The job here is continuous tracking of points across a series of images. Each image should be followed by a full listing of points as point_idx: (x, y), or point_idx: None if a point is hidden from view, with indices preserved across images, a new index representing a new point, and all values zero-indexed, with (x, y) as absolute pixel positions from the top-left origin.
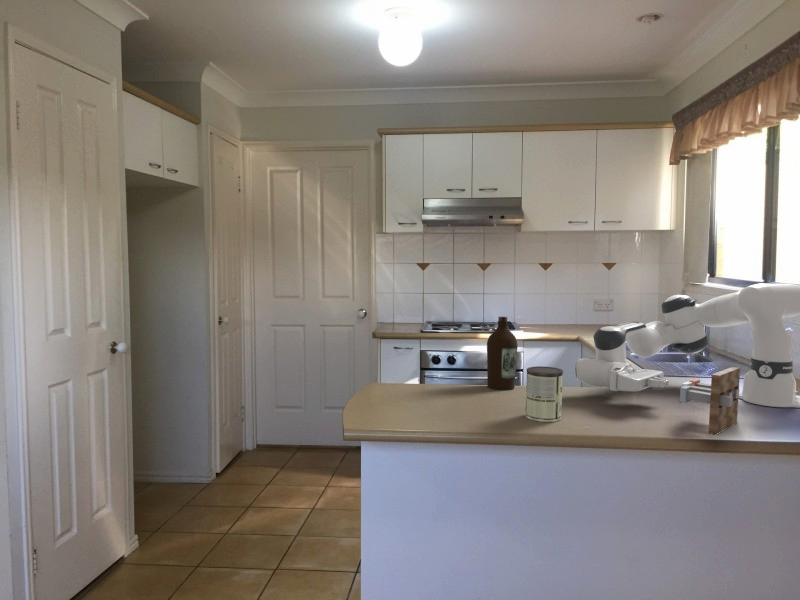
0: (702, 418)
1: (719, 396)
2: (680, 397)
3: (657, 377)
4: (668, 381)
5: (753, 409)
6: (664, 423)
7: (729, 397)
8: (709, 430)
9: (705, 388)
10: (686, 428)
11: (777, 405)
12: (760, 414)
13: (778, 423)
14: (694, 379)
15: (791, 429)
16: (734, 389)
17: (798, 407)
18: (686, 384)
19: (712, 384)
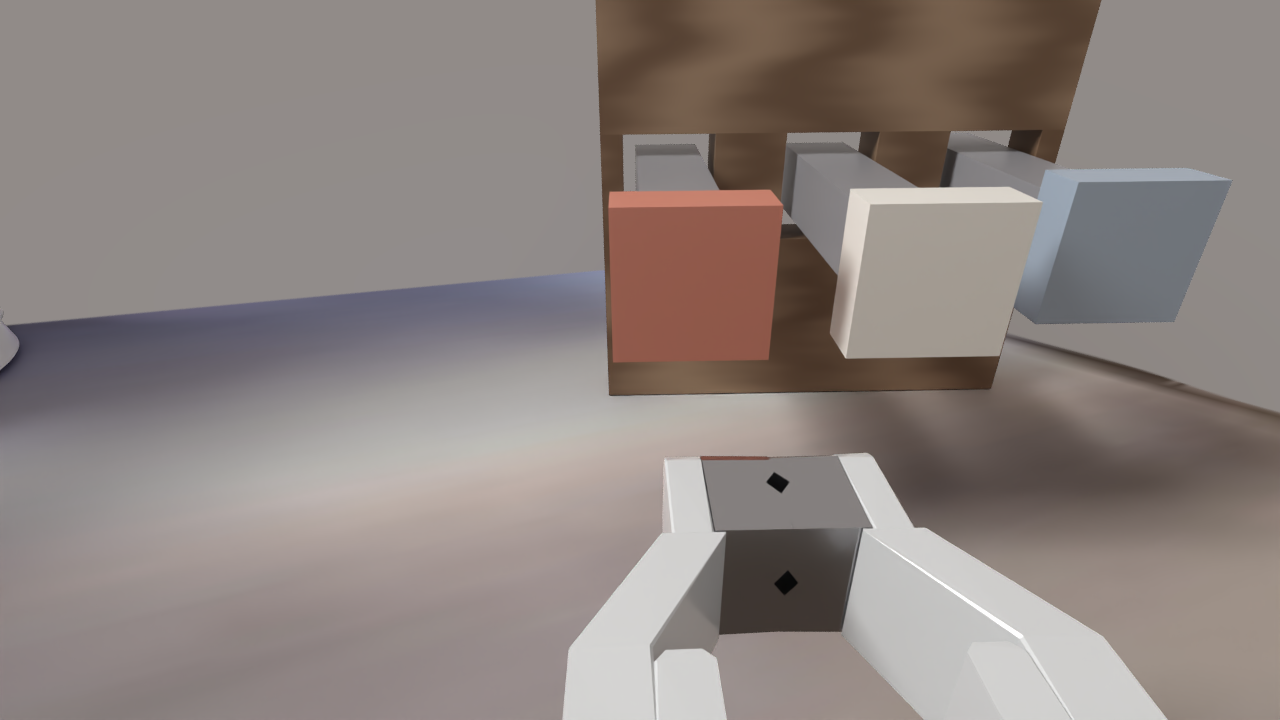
0: (662, 493)
1: (1009, 141)
2: (1186, 278)
3: (585, 685)
4: (675, 463)
5: (118, 400)
6: (1170, 609)
7: (959, 133)
8: (992, 370)
9: (861, 181)
10: (1059, 471)
11: (11, 340)
12: (274, 362)
13: (457, 305)
14: (650, 204)
15: (541, 278)
16: (683, 147)
17: (2, 312)
18: (1011, 191)
19: (1079, 58)
